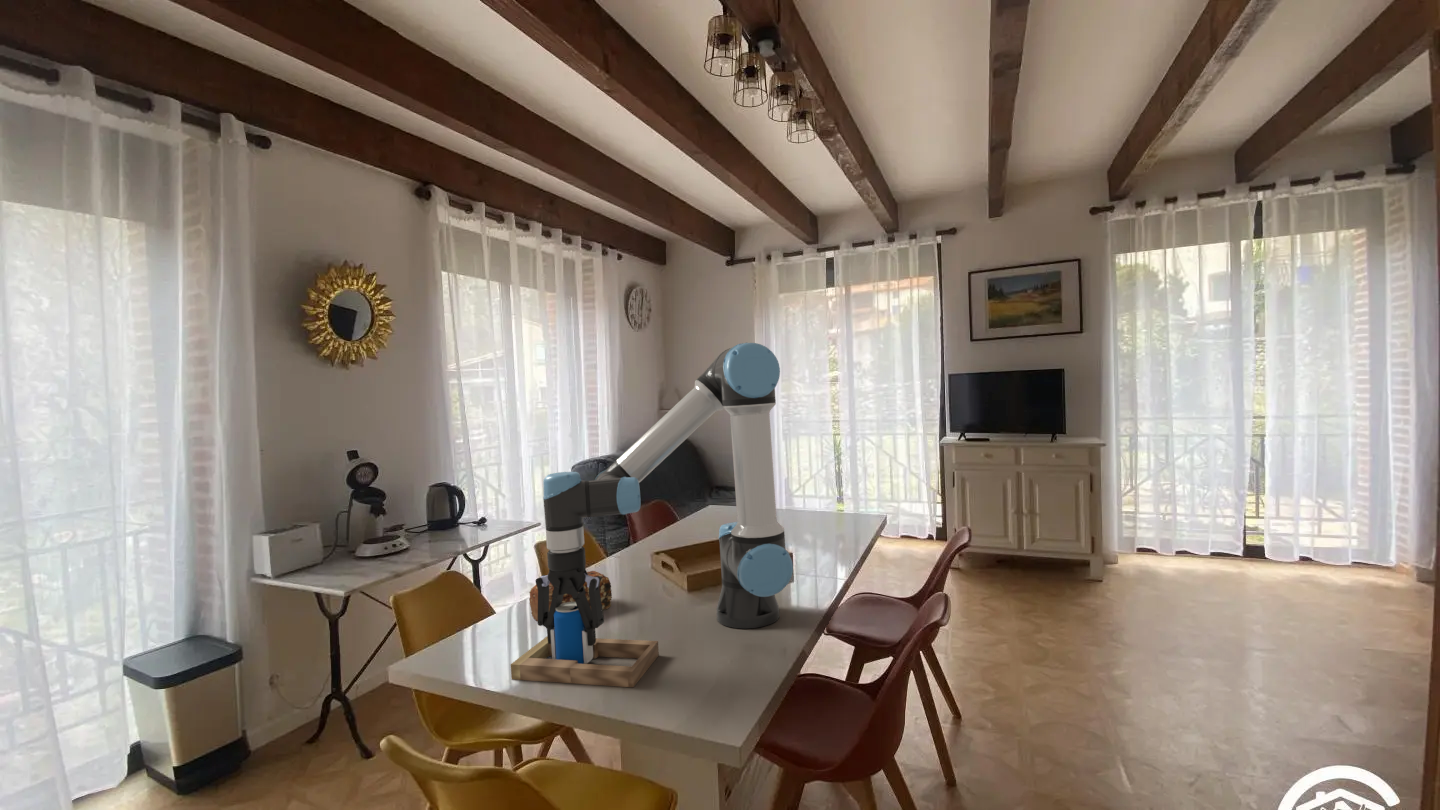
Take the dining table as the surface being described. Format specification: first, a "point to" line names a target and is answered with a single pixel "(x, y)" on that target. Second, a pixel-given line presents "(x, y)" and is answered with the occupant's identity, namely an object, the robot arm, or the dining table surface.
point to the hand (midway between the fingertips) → (572, 659)
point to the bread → (604, 594)
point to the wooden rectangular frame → (570, 671)
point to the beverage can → (569, 632)
